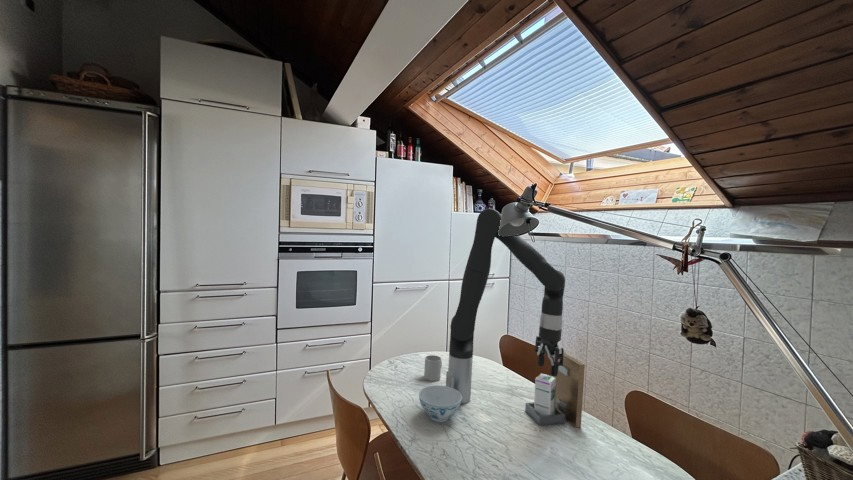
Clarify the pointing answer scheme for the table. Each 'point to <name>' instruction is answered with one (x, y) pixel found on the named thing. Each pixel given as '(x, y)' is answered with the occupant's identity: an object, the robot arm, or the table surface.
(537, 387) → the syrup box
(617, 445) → the table surface
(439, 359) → the cup
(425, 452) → the table surface
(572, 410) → the wooden board with tray
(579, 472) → the table surface
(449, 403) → the chinaware
